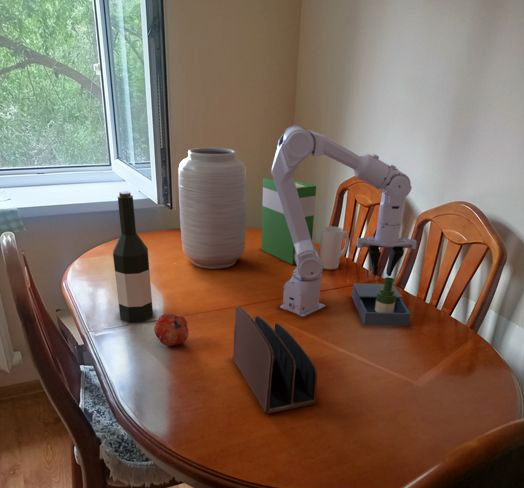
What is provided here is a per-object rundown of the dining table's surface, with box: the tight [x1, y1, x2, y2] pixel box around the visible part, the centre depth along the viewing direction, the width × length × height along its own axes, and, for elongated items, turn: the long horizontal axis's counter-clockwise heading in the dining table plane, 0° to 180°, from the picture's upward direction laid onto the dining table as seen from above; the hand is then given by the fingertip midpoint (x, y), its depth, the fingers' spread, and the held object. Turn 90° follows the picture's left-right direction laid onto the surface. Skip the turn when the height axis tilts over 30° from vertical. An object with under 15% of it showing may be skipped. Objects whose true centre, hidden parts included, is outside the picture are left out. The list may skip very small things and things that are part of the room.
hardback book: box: [260, 177, 317, 266], centre depth 160 cm, size 18×7×24 cm, turn 35°
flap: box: [353, 282, 403, 299], centre depth 130 cm, size 8×11×1 cm
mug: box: [318, 225, 350, 270], centre depth 155 cm, size 10×7×12 cm, turn 115°
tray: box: [351, 285, 412, 327], centre depth 127 cm, size 17×11×4 cm, turn 1°
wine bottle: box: [112, 190, 154, 324], centre depth 115 cm, size 8×8×30 cm
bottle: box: [374, 276, 397, 313], centre depth 121 cm, size 5×5×11 cm
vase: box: [178, 147, 248, 270], centre depth 150 cm, size 20×20×34 cm
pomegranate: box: [153, 312, 189, 347], centre depth 109 cm, size 7×7×10 cm
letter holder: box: [232, 305, 318, 415], centre depth 95 cm, size 10×20×14 cm, turn 21°
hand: (381, 274), depth 126 cm, fingers open, 3 cm apart
